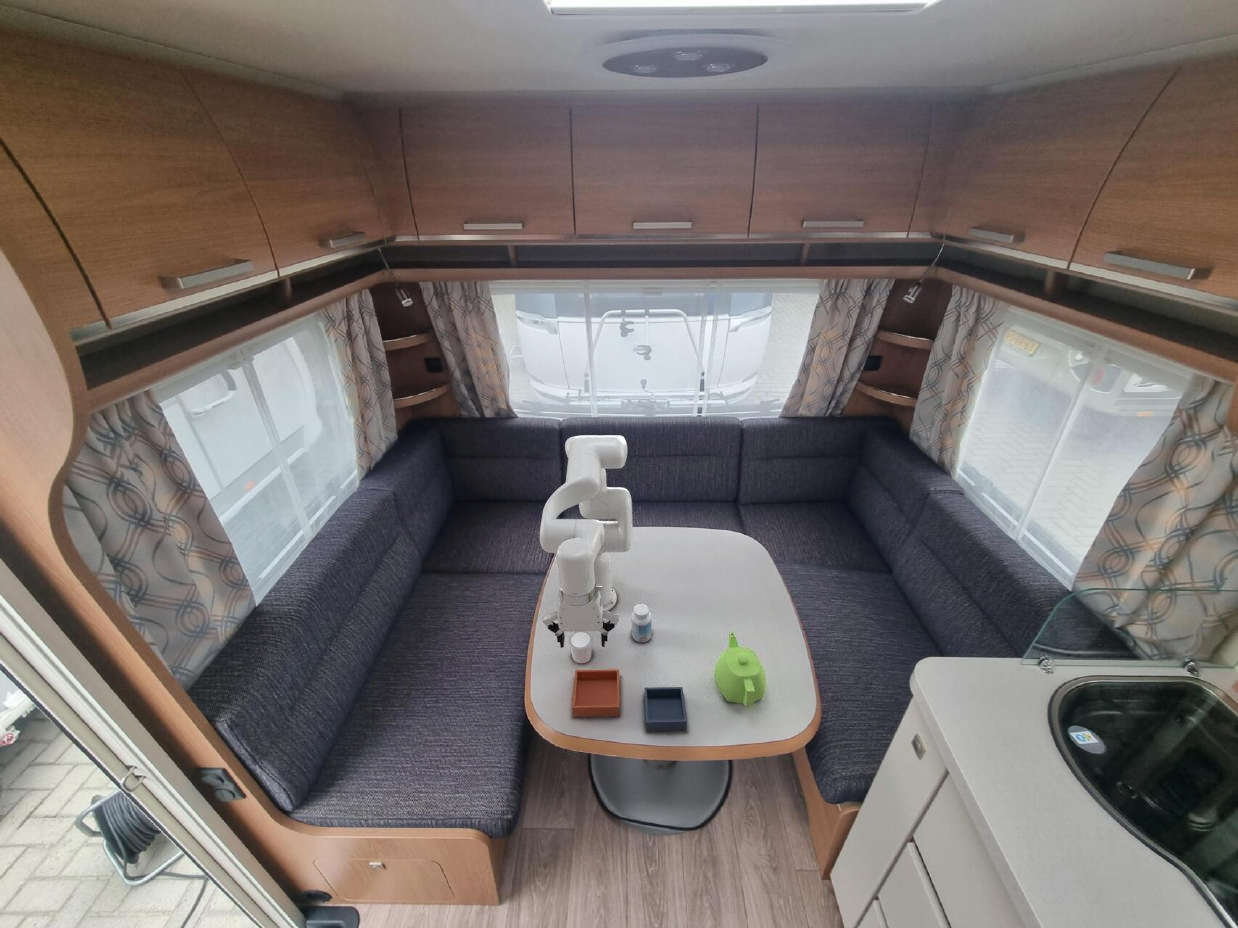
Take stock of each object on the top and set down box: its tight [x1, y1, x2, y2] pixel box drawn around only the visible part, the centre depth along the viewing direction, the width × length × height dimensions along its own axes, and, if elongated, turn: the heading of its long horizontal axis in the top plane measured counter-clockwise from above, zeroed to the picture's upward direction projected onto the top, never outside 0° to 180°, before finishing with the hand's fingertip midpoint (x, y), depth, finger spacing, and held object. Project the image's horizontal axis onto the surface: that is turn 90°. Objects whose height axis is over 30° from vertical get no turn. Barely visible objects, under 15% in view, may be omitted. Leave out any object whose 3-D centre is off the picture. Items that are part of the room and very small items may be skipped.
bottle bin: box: [643, 686, 688, 732], centre depth 128 cm, size 10×10×4 cm
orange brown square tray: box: [571, 668, 621, 718], centre depth 132 cm, size 11×12×4 cm
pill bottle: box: [631, 603, 652, 643], centre depth 148 cm, size 6×6×11 cm
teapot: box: [714, 631, 767, 708], centre depth 132 cm, size 20×13×13 cm
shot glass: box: [568, 631, 593, 664], centre depth 143 cm, size 7×7×7 cm
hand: (583, 642), depth 115 cm, fingers open, 9 cm apart
